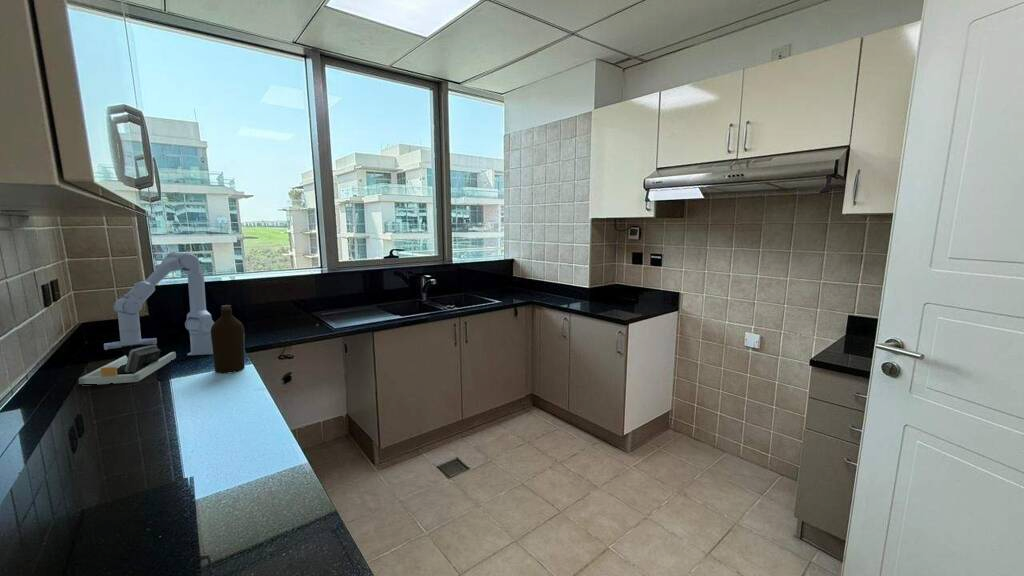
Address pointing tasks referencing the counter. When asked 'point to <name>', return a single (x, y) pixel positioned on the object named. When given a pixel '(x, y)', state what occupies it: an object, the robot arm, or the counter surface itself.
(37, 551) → the counter surface
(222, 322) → the olive oil
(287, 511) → the counter surface
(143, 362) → the electrical switch
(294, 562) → the counter surface
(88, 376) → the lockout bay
